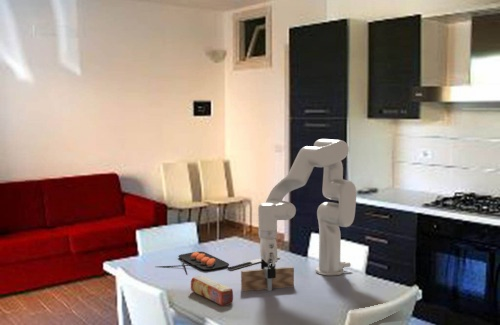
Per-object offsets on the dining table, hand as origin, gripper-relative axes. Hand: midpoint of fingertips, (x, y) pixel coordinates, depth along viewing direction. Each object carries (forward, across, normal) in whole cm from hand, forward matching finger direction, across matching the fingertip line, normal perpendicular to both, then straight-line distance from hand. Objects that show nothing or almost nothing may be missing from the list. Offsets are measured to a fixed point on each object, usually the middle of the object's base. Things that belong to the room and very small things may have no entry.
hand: (268, 274), depth 216 cm
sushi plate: (+6, +41, +28) cm, 49 cm away
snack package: (+6, -5, +24) cm, 26 cm away
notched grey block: (+6, 0, 0) cm, 6 cm away
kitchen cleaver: (+7, +37, -2) cm, 38 cm away
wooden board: (+6, 0, 0) cm, 6 cm away
